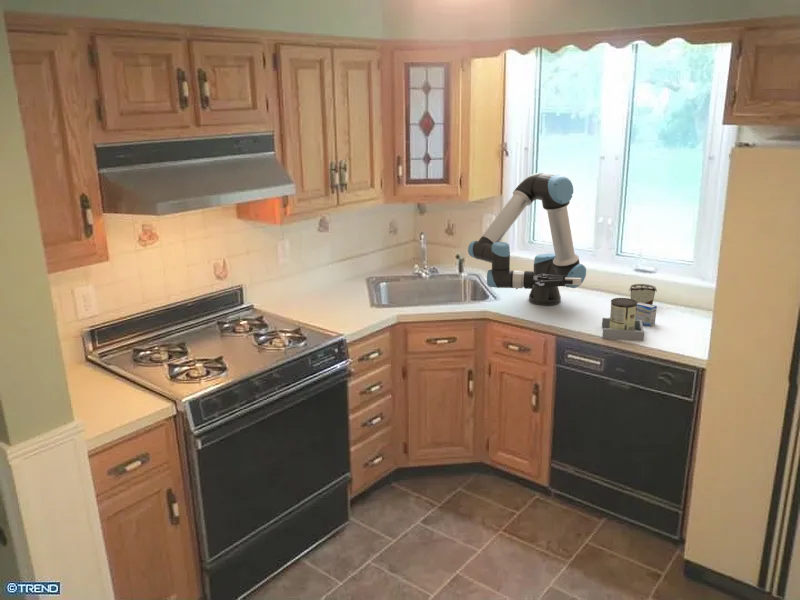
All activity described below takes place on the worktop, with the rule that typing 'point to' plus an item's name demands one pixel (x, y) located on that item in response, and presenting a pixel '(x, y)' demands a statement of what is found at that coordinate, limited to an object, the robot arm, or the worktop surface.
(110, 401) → the worktop surface
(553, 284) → the robot arm
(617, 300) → the coffee can
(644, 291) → the food container
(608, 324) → the frame
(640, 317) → the medicine box
